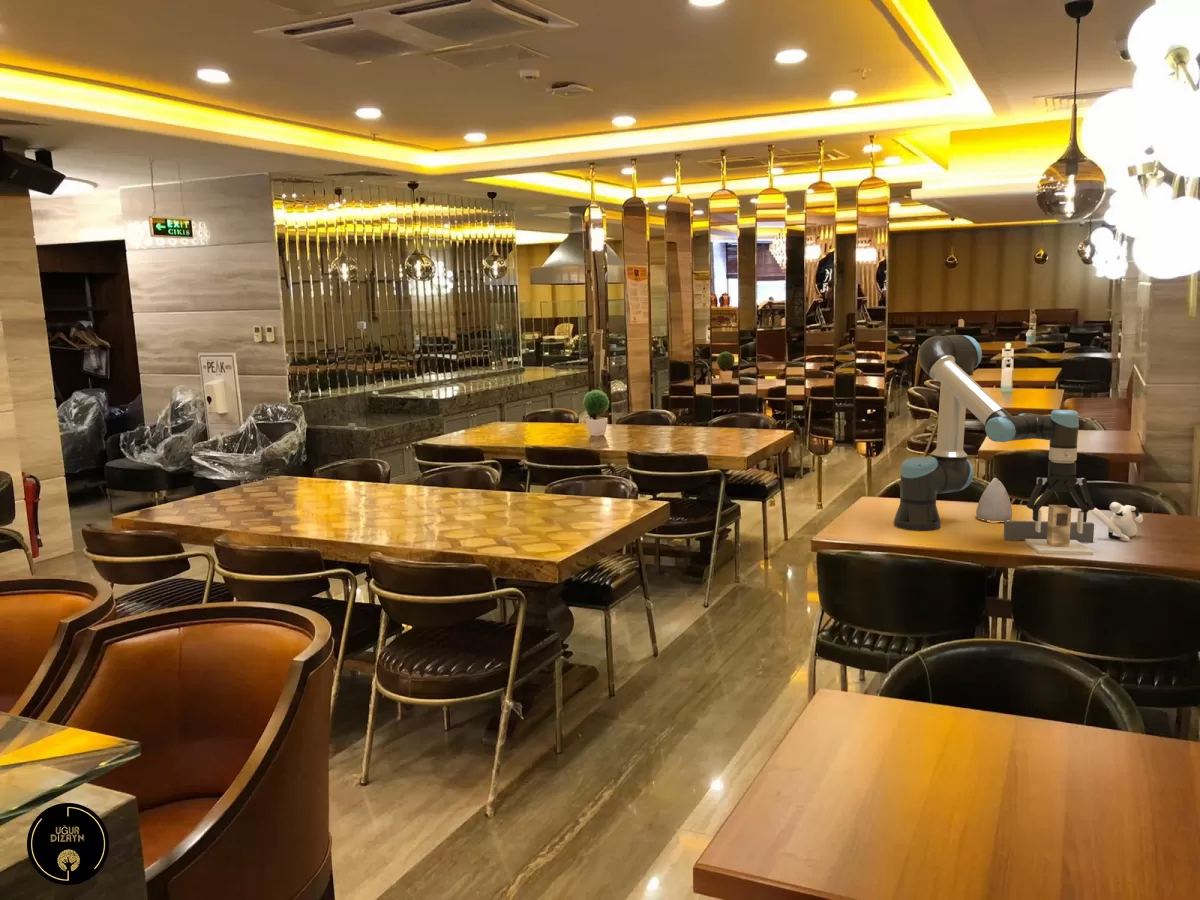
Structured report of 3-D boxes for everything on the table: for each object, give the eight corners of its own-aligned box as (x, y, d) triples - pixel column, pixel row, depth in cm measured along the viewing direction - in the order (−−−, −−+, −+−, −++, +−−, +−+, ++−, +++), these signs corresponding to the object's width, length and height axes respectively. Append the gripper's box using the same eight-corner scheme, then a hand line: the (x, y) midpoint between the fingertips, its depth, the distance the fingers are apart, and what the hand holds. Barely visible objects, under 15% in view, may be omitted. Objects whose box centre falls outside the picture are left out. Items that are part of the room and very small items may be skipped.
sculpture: (1020, 522, 316) (1022, 479, 313) (990, 524, 313) (992, 481, 311) (996, 515, 328) (998, 474, 326) (967, 517, 325) (969, 475, 323)
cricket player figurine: (1131, 554, 288) (1115, 527, 280) (1103, 539, 297) (1088, 513, 289) (1160, 525, 288) (1145, 497, 280) (1132, 512, 297) (1117, 484, 289)
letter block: (1051, 546, 276) (1053, 508, 275) (1046, 542, 282) (1048, 504, 280) (1069, 547, 276) (1071, 508, 274) (1064, 543, 281) (1066, 505, 279)
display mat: (1038, 553, 273) (1039, 550, 273) (1024, 541, 287) (1025, 538, 287) (1092, 554, 270) (1092, 551, 270) (1075, 543, 285) (1076, 539, 285)
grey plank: (1005, 540, 290) (1006, 521, 289) (1003, 538, 292) (1004, 520, 291) (1093, 542, 285) (1094, 523, 284) (1090, 540, 287) (1092, 522, 286)
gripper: (1024, 462, 274) (1020, 533, 277) (1109, 463, 269) (1104, 535, 272) (1017, 458, 281) (1014, 528, 284) (1100, 459, 277) (1095, 530, 280)
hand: (1058, 531), depth 278 cm, fingers open, 11 cm apart
